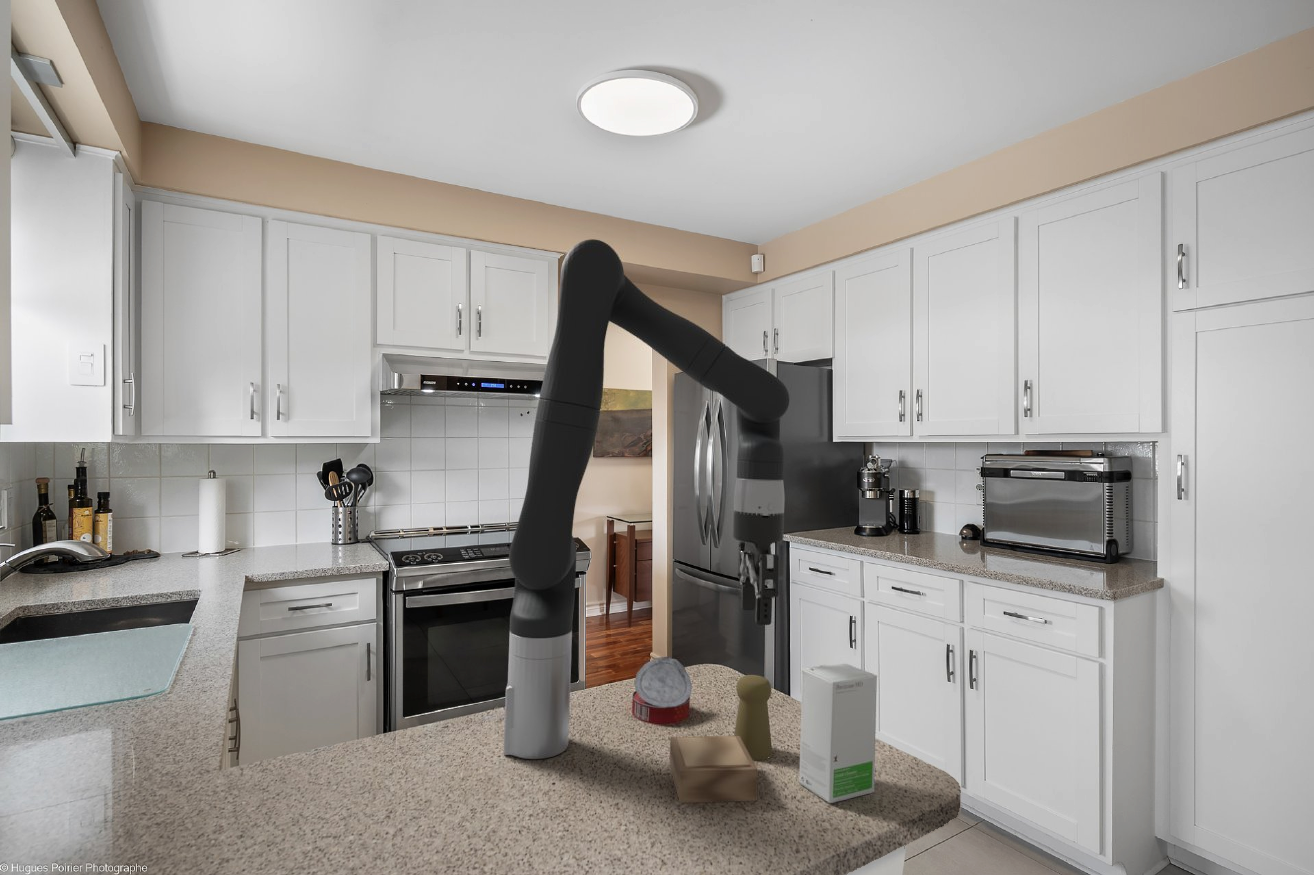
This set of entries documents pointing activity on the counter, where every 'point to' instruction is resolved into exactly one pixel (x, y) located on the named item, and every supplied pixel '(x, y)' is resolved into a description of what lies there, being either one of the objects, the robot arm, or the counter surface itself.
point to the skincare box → (838, 731)
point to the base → (712, 769)
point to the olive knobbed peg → (754, 716)
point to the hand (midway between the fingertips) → (755, 616)
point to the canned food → (662, 692)
